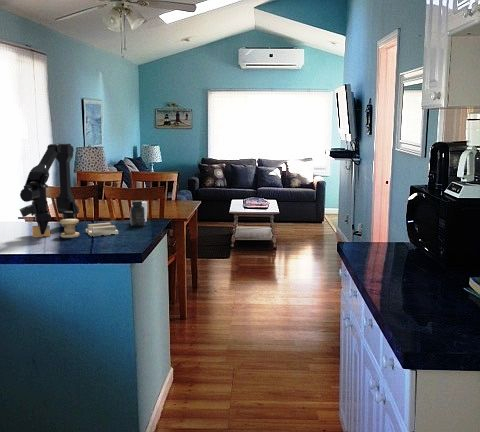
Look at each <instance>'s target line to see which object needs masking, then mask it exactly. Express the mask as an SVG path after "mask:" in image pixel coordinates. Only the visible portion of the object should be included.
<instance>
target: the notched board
mask: <svg viewBox="0 0 480 432" xmlns="http://www.w3.org/2000/svg"><path fill="white" fill-rule="evenodd" d="M85 233H86V234H88V235H89V236H90V238H91V237H92V236H93V237H102V236H101V235H104V236H112V235H111V234H115V235H119V230H118V229H117V227H116V225H112V223H111V222H103V223H102V222H100V223H90V224H89V223H88V224H87V228H85Z"/></svg>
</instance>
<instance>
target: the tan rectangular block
mask: <svg viewBox="0 0 480 432" xmlns="http://www.w3.org/2000/svg"><path fill="white" fill-rule="evenodd" d="M31 232H32V234H31V235H32V237H33V238H42V237H43V236H45V237H51V227H50V225H49V224H48V225H47V227H46V230H45V233H44V234H41V231H40V227H39V226H38V225H32V226H31Z"/></svg>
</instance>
